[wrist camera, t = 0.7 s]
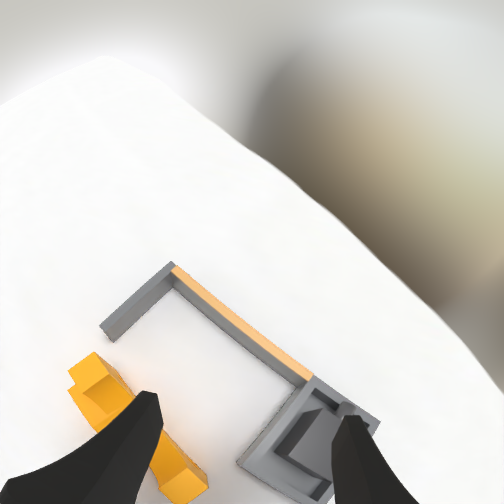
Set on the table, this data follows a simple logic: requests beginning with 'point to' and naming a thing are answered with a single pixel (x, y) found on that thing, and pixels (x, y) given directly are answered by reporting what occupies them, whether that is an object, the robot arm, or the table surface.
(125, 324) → the grey piece
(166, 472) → the pipe clamp
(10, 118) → the table surface
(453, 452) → the table surface
